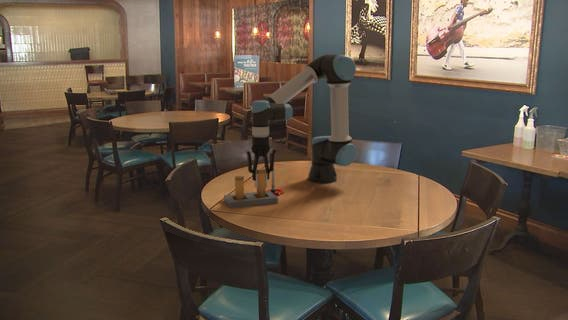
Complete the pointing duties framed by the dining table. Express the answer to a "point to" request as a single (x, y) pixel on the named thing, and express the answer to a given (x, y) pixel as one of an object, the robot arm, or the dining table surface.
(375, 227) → the dining table surface
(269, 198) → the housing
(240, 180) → the cylinder
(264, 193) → the peg
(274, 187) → the tow hook
